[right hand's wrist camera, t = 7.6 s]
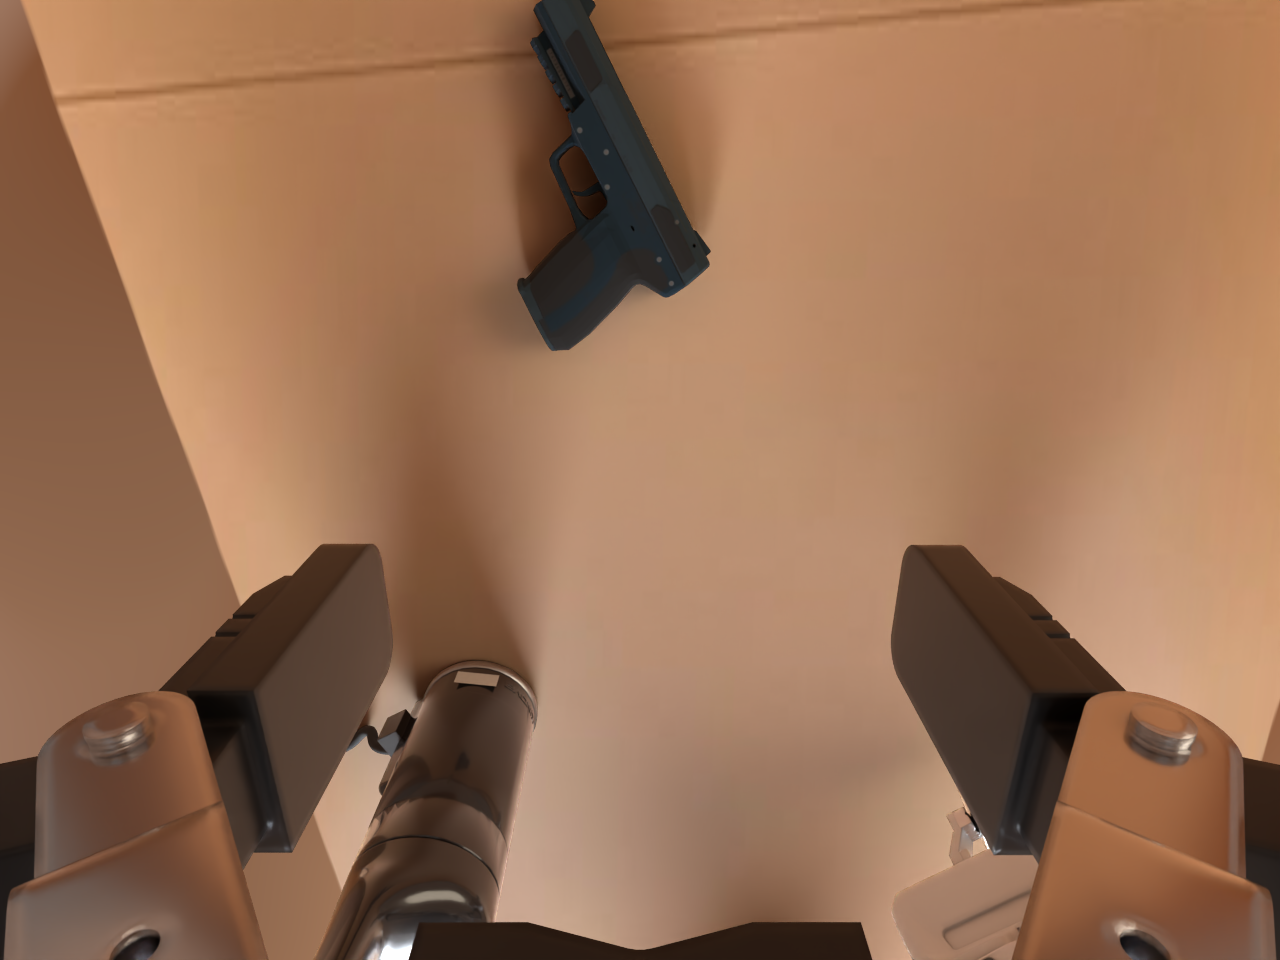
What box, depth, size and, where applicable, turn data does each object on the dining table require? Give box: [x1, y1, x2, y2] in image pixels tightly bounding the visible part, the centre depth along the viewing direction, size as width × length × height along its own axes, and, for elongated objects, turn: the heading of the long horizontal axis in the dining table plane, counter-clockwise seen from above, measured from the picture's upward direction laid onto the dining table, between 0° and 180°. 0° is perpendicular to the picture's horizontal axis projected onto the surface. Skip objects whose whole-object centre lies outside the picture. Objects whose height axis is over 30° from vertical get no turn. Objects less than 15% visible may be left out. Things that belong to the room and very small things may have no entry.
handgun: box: [517, 0, 711, 351], centre depth 44 cm, size 3×18×12 cm
